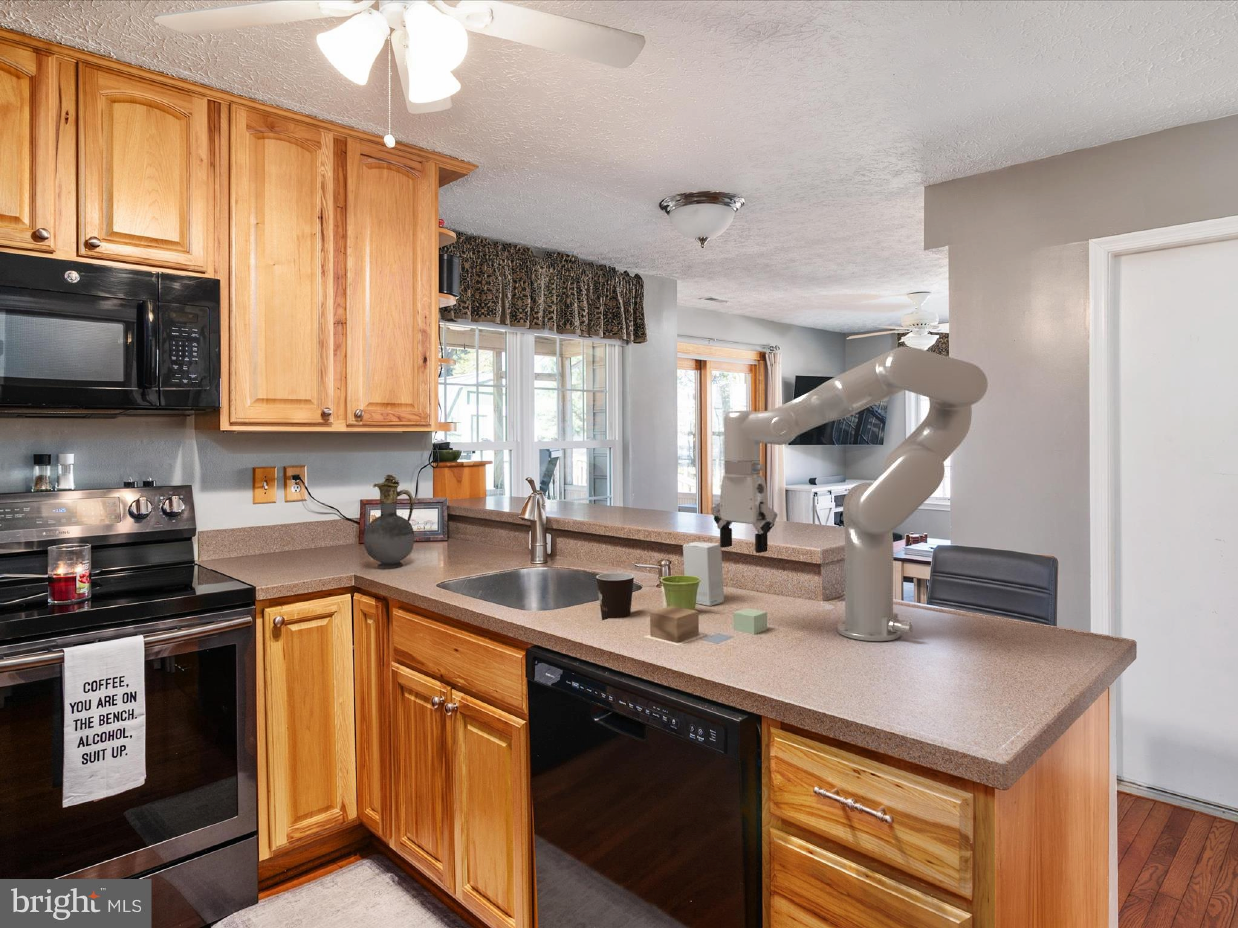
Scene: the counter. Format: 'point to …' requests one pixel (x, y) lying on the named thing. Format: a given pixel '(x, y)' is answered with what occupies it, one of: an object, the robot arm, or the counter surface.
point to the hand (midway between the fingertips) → (743, 549)
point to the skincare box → (705, 571)
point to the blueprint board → (714, 638)
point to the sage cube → (750, 621)
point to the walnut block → (674, 624)
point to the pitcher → (390, 528)
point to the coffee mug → (615, 594)
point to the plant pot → (681, 590)
